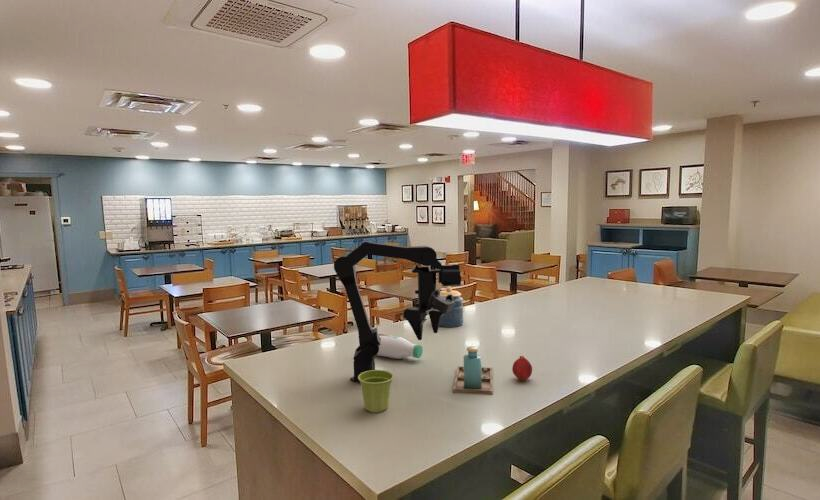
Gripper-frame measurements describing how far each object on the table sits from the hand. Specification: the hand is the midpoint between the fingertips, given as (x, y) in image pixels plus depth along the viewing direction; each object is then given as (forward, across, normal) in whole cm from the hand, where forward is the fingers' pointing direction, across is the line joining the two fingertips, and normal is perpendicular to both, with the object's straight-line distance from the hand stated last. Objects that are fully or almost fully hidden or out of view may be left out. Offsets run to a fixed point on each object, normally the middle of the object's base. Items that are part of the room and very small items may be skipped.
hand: (427, 336), depth 137 cm
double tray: (+13, +4, -14) cm, 19 cm away
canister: (+13, +62, +27) cm, 69 cm away
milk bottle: (+9, +9, +30) cm, 33 cm away
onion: (+13, +12, -26) cm, 32 cm away
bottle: (+12, -1, -16) cm, 20 cm away
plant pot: (+13, -26, 0) cm, 29 cm away
